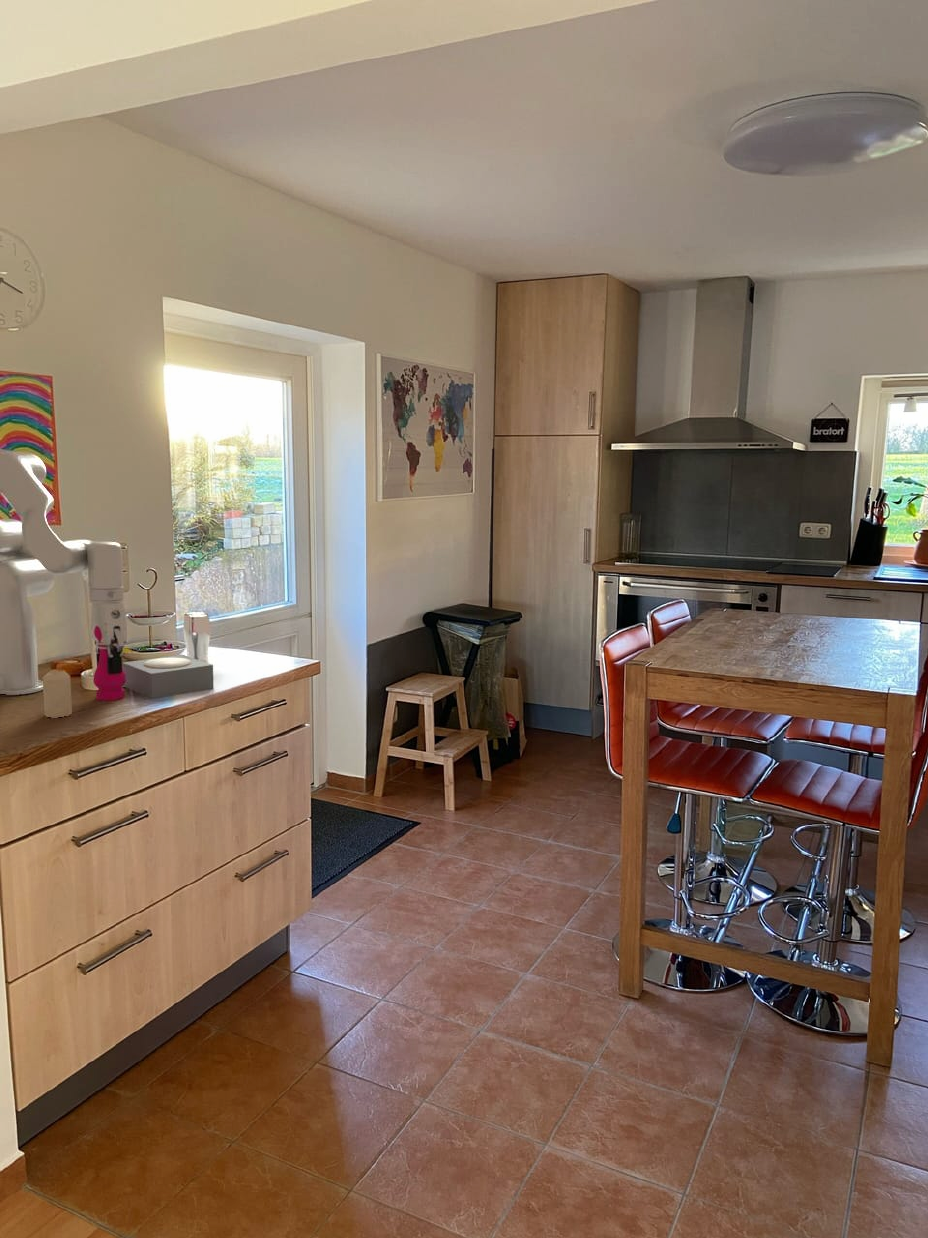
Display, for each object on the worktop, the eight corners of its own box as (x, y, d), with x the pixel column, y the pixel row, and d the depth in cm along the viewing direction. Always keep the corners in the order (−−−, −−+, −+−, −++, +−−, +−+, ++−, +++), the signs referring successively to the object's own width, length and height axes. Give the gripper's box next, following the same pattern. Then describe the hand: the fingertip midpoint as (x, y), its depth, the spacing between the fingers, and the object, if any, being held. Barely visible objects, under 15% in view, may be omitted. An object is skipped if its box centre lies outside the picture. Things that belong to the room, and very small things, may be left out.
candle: (40, 714, 197) (38, 670, 196) (66, 710, 201) (64, 666, 199) (50, 720, 193) (47, 674, 192) (76, 715, 197) (74, 671, 196)
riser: (152, 698, 213) (151, 672, 212) (123, 686, 224) (122, 661, 223) (213, 688, 224) (213, 663, 223) (182, 677, 235) (182, 653, 234)
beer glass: (184, 671, 242) (182, 616, 239) (184, 666, 248) (183, 612, 246) (211, 670, 243) (209, 616, 241) (211, 665, 250) (209, 612, 248)
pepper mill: (115, 702, 209) (112, 617, 206) (87, 700, 210) (84, 615, 207) (132, 695, 216) (130, 612, 213) (105, 692, 217) (102, 611, 214)
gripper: (138, 598, 206) (141, 675, 209) (107, 590, 218) (110, 663, 221) (105, 600, 201) (109, 680, 203) (75, 592, 213) (79, 667, 216)
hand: (109, 670), depth 212 cm, fingers closed on pepper mill, 5 cm apart
